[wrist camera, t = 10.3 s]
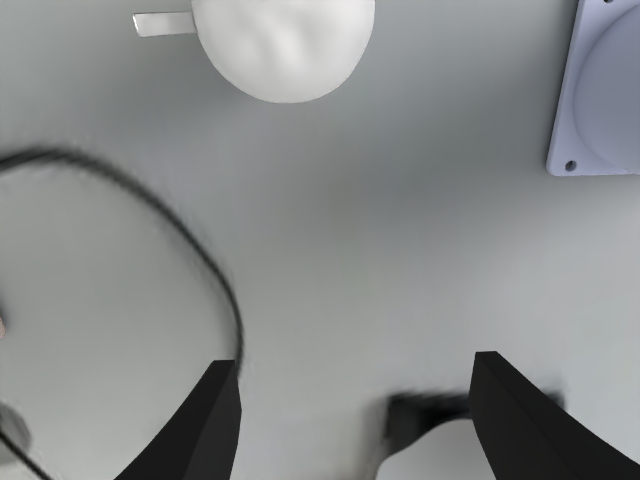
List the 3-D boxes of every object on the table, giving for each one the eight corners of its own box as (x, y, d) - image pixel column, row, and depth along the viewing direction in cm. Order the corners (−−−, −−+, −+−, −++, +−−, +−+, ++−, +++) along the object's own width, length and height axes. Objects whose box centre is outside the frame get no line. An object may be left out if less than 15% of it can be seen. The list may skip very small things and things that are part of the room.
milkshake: (209, -35, 17) (96, -109, 8) (343, -55, 17) (380, -152, 8) (233, 85, 19) (163, 132, 10) (354, 69, 19) (392, 102, 10)
